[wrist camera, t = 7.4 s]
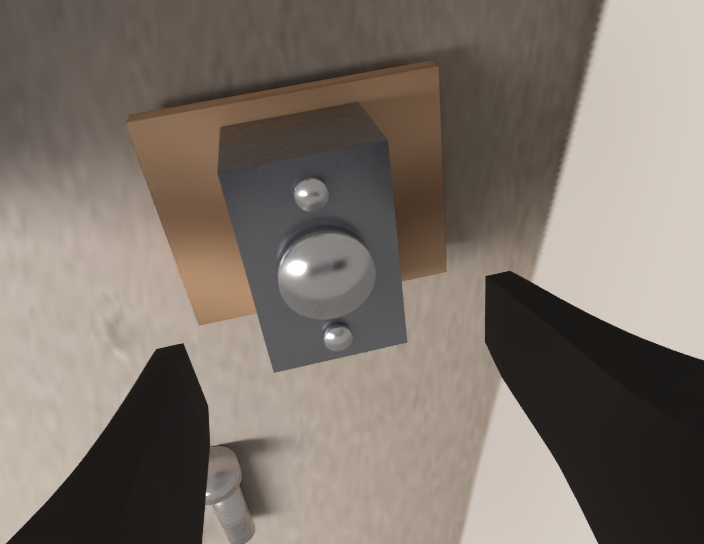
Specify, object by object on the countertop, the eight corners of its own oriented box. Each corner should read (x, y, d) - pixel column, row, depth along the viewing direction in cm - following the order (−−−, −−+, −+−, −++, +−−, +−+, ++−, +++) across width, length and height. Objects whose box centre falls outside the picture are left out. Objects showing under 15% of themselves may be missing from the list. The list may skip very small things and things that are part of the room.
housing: (267, 303, 21) (275, 385, 17) (220, 127, 17) (216, 182, 13) (379, 278, 21) (412, 354, 17) (357, 101, 17) (393, 148, 14)
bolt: (185, 453, 27) (181, 498, 25) (236, 440, 27) (238, 483, 25) (217, 524, 30) (217, 569, 28) (263, 512, 31) (266, 555, 28)
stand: (134, 105, 18) (124, 123, 16) (420, 54, 19) (438, 66, 17) (201, 296, 22) (198, 325, 21) (431, 247, 23) (446, 272, 22)
